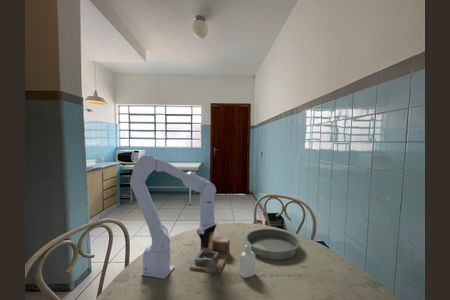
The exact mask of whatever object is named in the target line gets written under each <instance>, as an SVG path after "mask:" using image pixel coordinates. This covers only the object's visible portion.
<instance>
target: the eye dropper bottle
mask: <svg viewBox="0 0 450 300" xmlns="http://www.w3.org/2000/svg"><path fill="white" fill-rule="evenodd" d="M239 258H240V259H239V264H240V265H239V274H240V276H241V277H242V278H243V279H246V278H251V277H253V276H254V275H255V274H256V254H255V253H254V252H253V251H251V245H249V242H247V241H246V244H245V245H244V251H243V252H241V254H240V256H239Z"/></svg>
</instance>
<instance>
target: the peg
mask: <svg viewBox="0 0 450 300" xmlns="http://www.w3.org/2000/svg"><path fill="white" fill-rule="evenodd" d="M213 237H214V234H213V232H211V235H210V239H209V246H208V248H203V251H204V252H211V251H212V250H213Z"/></svg>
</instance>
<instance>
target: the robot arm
mask: <svg viewBox="0 0 450 300" xmlns="http://www.w3.org/2000/svg"><path fill="white" fill-rule="evenodd" d="M132 169H133V170H132V173H131V177H130V180H129V183H130V186H131V189H132V191H133V194H134V196H135V198H136V201H137V204H138V205H139V206H138V207H139V208H140V211H141V212H142V215H143V218H144V220H145V223H146V225H147V226H148V227H147V228H148V230H149V235H150V238H151V245H149V246H147V247H145V249H144V252H143V255H142V272H141V276H144V277H151V278H158V279H164V280H165V279H166V278H167V277H168V275H169V274H171V272H172V271H173V270H174V269H175V267H176V266H175V265H173V264H171V239H170V236H169V230H168V228H167V227H166V226H164V225H163V222H162V221H161V219H160V217H159V214H158V211H157V209H156V206H155V204H154V202H153V200H152V196H151V194H150V192H149V189H148V187H147V185H146V181H147V179H148V177H149V176H150V175H151V174H152V172H153V171H155V172H157V173H158V172H165V173H167V174H169V175H171V176H173V177H175V178H178V179H179V180H181V181H182V185H183V186H185V187H187V188H189V189H192V190H193V191H195V192H197V193H199V194H200V195H199V196H200V198H199V225H198V226H199V227H198V229H197V230H196V232H197V233H196V234H197V235H198V236H199V239H200V244H201V243H202V247H203V248H208V246H209V239H210V235H211V232H213V235H214V233H215V230H216V227H217V225H218V221H216V217H215V194H216V193H217V189H216V186H215V184H214V183H212V182H211V181H209V179H207V178H206V177H201V176H199V175H197V172H196V171H187V172H185V171H184V170H181V169H180V168H178V167H177V166H175V165H173V164H171V163H169V162H168V161H166V160H164V159H161V158H158V157H155V156H152V155H151V154H143V155H141V156H140V157H139V158H137V160H136V162H135V164H134V165H133V168H132Z"/></svg>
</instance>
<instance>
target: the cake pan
mask: <svg viewBox="0 0 450 300" xmlns="http://www.w3.org/2000/svg"><path fill="white" fill-rule="evenodd" d="M300 241H301V240H300V239H299V238H298V237H297V236H296V235H295V234H293V233H291V232H288V231H285V230H283V229H282V230H281V229H276V228H261V229H254V230H252V231H250V232H248V233H247V234H246V235H245V242H246V243H247V242H249V245H251V251H253V252H254V253H255V256H259V257H261V258H265V259H269V260H286V259H291V258H292V257H294V256H295V255H296V253H297V249H298V247H300V245H301V242H300ZM252 243H254V244H258V245H260V246H262V247H263V248H261V247H258V246H256V245H254V244H252Z"/></svg>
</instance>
